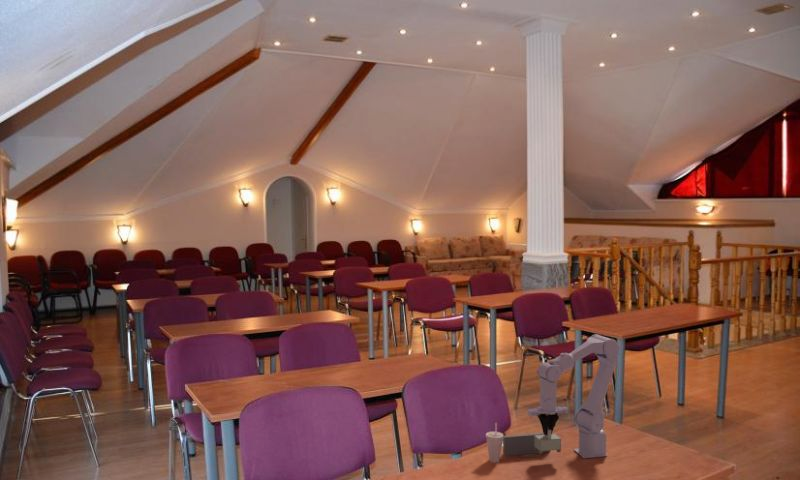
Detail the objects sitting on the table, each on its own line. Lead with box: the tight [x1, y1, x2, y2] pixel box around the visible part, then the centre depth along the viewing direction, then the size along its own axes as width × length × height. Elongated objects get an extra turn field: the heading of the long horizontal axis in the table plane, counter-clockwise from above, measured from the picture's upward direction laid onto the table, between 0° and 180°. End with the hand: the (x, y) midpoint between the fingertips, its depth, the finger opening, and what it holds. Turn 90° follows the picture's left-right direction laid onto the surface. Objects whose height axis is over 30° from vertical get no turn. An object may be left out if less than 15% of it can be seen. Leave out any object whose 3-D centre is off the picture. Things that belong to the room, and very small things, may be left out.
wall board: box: [502, 432, 551, 459], centre depth 253 cm, size 18×4×7 cm, turn 102°
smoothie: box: [485, 422, 504, 464], centre depth 247 cm, size 6×6×14 cm
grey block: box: [534, 428, 562, 455], centre depth 245 cm, size 8×5×8 cm, turn 102°
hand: (547, 433), depth 245 cm, fingers closed on grey block
